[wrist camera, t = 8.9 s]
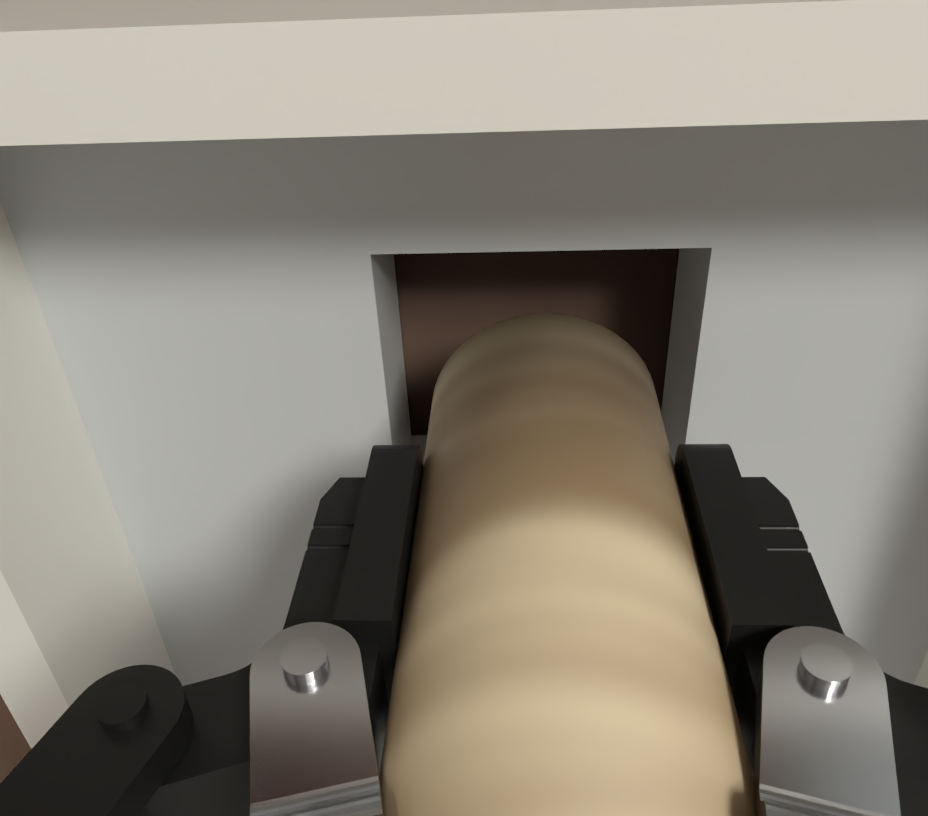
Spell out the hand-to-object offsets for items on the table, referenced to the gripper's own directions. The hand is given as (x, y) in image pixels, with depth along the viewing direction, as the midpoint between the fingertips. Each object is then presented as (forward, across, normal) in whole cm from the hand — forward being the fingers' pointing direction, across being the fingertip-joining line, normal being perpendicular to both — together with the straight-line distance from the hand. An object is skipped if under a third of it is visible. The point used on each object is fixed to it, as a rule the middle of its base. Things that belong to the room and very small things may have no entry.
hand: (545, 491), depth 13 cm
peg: (+2, 0, 0) cm, 2 cm away
